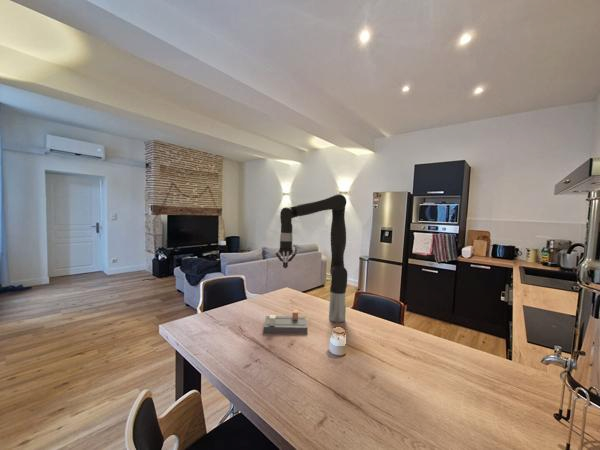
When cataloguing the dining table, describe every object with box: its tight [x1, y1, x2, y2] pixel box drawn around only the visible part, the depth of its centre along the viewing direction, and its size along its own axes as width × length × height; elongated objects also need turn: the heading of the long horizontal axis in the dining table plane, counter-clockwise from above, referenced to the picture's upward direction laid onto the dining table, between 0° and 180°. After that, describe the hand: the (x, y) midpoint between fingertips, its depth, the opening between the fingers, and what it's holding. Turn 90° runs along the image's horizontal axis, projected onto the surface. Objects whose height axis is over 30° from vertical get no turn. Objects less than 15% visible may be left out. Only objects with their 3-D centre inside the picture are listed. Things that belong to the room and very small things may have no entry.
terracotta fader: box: [291, 309, 299, 320], centre depth 142 cm, size 3×4×4 cm
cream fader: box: [269, 314, 277, 326], centre depth 134 cm, size 3×4×4 cm
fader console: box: [263, 315, 308, 334], centre depth 138 cm, size 23×14×3 cm, turn 93°
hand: (285, 268), depth 154 cm, fingers closed
